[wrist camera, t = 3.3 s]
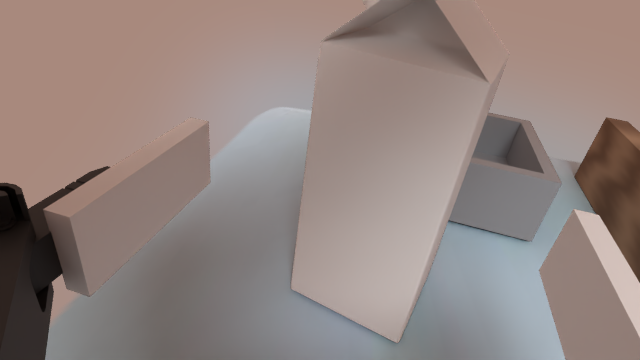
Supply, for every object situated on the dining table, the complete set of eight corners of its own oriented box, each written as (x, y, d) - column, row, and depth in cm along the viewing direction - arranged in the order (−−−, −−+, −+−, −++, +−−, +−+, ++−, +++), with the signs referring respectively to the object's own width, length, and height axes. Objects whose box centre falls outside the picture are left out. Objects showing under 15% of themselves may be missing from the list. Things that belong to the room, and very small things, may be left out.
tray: (390, 141, 44) (401, 94, 42) (509, 168, 42) (529, 121, 39) (371, 200, 34) (385, 142, 31) (531, 241, 31) (561, 183, 28)
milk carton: (429, 271, 27) (544, -38, 18) (397, 347, 22) (538, -45, 12) (338, 232, 30) (394, -59, 20) (289, 291, 24) (331, -72, 14)
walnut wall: (574, 176, 43) (606, 117, 40) (593, 181, 43) (627, 121, 39) (643, 293, 28) (704, 214, 25) (674, 301, 28) (740, 223, 24)
